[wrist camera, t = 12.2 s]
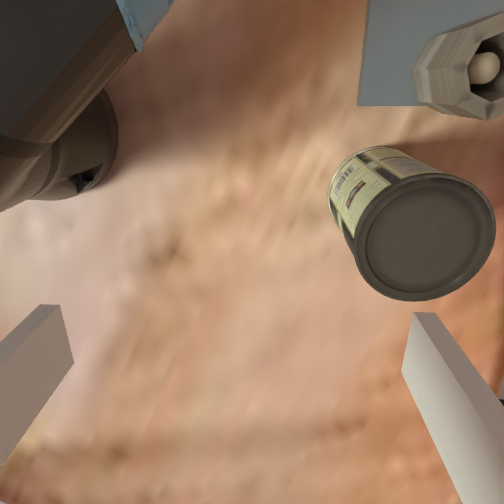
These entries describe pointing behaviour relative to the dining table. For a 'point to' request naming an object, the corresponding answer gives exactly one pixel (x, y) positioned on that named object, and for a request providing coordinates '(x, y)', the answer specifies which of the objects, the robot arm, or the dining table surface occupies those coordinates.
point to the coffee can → (410, 224)
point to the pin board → (414, 45)
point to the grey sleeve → (461, 70)
